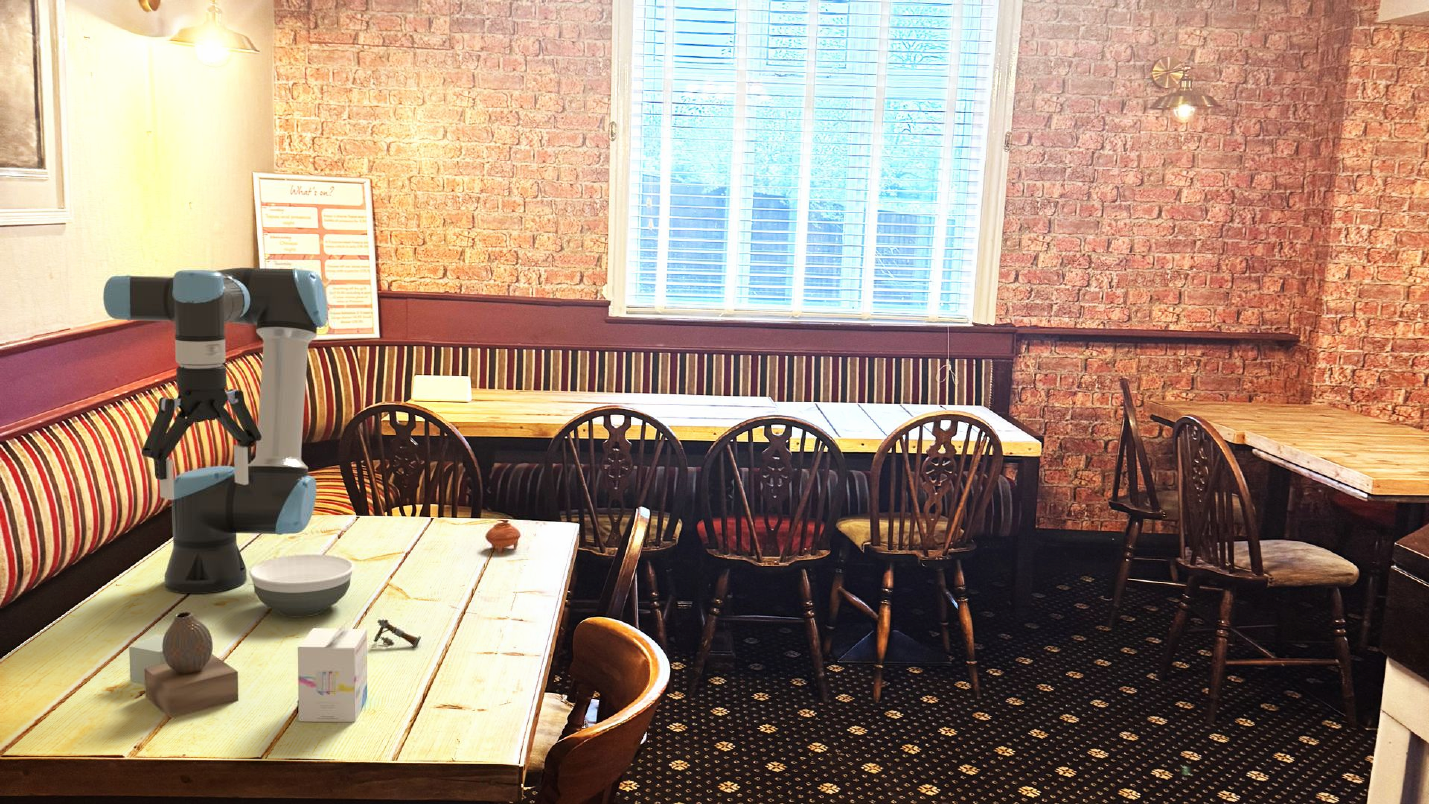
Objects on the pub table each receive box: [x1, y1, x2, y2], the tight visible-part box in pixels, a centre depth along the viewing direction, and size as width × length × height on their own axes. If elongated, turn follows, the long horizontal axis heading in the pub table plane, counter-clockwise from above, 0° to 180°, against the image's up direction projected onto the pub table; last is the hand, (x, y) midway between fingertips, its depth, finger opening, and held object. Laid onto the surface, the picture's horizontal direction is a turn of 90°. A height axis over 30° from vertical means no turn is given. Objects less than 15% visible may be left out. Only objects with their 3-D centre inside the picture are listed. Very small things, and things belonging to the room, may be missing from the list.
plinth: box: [144, 653, 239, 719], centre depth 174 cm, size 10×10×5 cm
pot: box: [485, 521, 522, 554], centre depth 262 cm, size 8×8×7 cm
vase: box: [162, 611, 214, 673], centre depth 173 cm, size 7×7×9 cm
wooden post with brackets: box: [373, 619, 422, 649], centre depth 200 cm, size 2×8×4 cm, turn 84°
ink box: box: [297, 618, 368, 723], centre depth 171 cm, size 9×8×13 cm
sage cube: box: [128, 634, 166, 686], centre depth 181 cm, size 6×6×6 cm
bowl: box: [249, 554, 355, 618], centre depth 216 cm, size 19×19×8 cm
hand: (205, 490), depth 191 cm, fingers open, 13 cm apart
